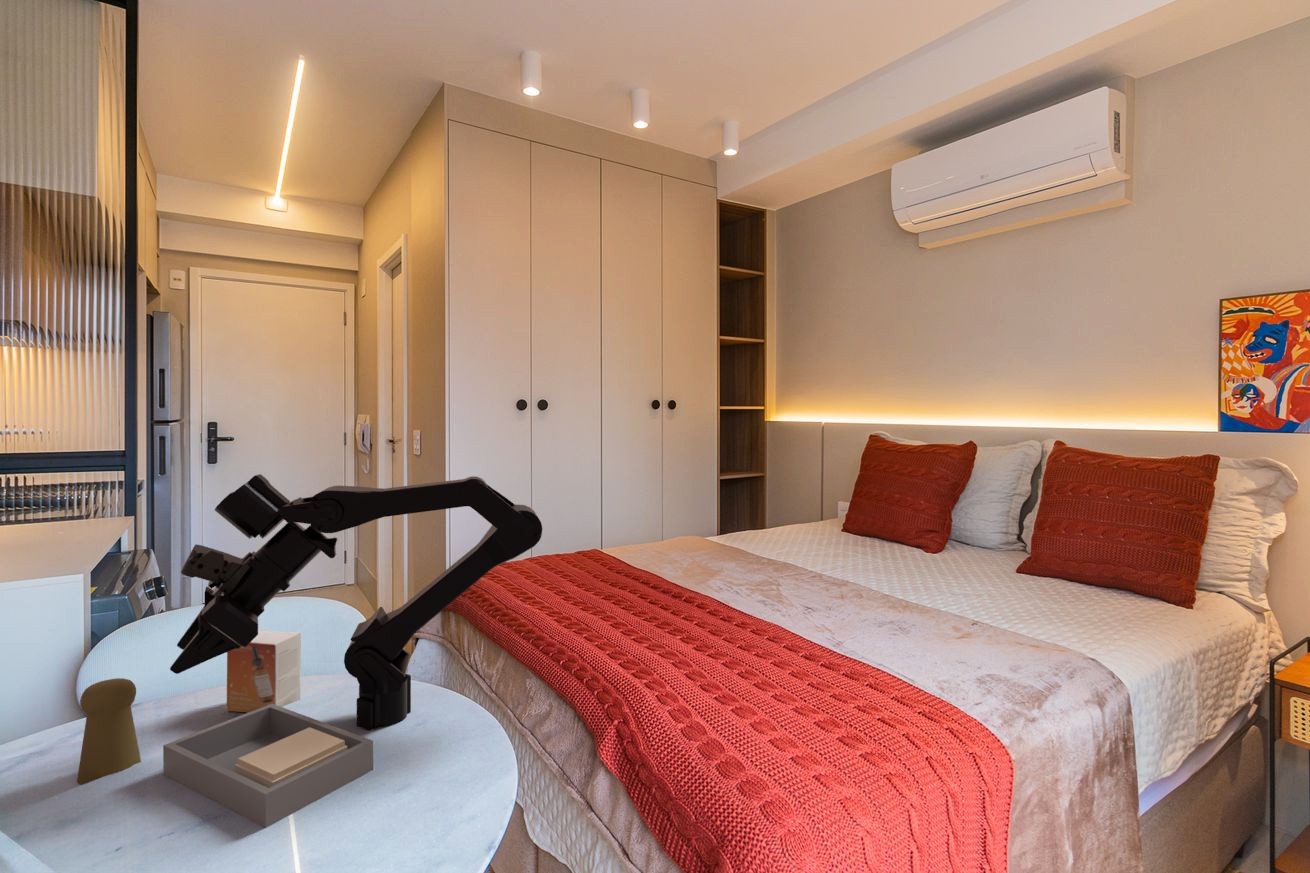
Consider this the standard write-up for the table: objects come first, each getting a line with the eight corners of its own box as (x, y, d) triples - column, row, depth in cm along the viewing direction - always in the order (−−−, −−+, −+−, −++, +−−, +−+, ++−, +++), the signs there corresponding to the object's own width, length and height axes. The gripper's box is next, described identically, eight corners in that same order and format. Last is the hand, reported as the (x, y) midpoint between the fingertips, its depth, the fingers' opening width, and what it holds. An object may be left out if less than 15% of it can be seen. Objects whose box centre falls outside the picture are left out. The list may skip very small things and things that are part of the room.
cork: (105, 789, 77) (103, 695, 77) (63, 782, 78) (61, 690, 78) (154, 762, 83) (153, 675, 83) (114, 756, 84) (113, 670, 84)
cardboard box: (310, 757, 83) (310, 726, 83) (347, 772, 80) (347, 740, 79) (235, 793, 75) (235, 758, 75) (273, 811, 72) (272, 775, 72)
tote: (272, 736, 90) (272, 703, 90) (373, 777, 80) (373, 740, 80) (163, 782, 79) (163, 745, 78) (265, 837, 69) (265, 794, 69)
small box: (225, 712, 97) (225, 640, 97) (254, 696, 103) (254, 628, 102) (275, 717, 96) (275, 644, 95) (301, 700, 101) (301, 631, 101)
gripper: (228, 512, 94) (129, 601, 89) (224, 534, 78) (103, 644, 73) (292, 562, 98) (202, 649, 93) (301, 593, 82) (192, 700, 77)
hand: (176, 658), depth 84 cm, fingers open, 9 cm apart
